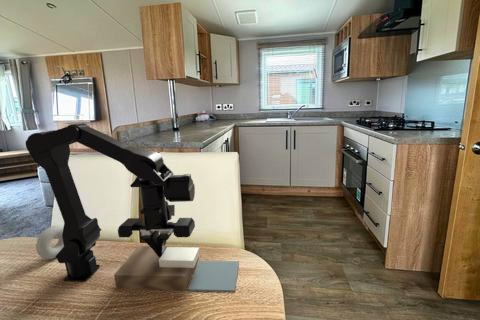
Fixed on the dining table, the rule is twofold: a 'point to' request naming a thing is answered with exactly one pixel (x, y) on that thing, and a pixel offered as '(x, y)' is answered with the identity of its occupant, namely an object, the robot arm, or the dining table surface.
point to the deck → (151, 272)
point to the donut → (45, 240)
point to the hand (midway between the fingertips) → (160, 256)
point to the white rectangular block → (179, 257)
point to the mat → (215, 276)
